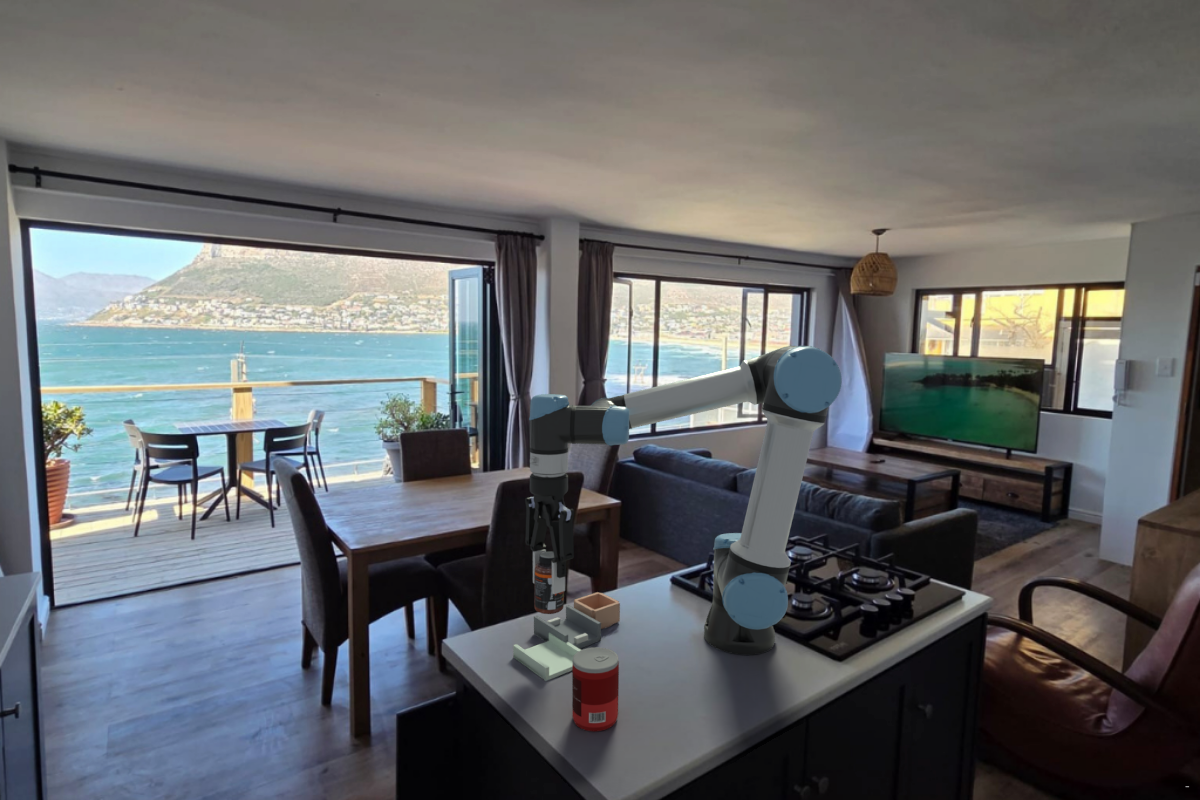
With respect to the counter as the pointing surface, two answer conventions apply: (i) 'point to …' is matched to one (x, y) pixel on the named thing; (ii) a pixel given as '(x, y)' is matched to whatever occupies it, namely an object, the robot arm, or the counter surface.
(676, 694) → the counter surface
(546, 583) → the supplement bottle
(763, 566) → the robot arm
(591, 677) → the canned food
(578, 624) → the checker cradle
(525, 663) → the trough
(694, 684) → the counter surface
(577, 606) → the open cardboard box
